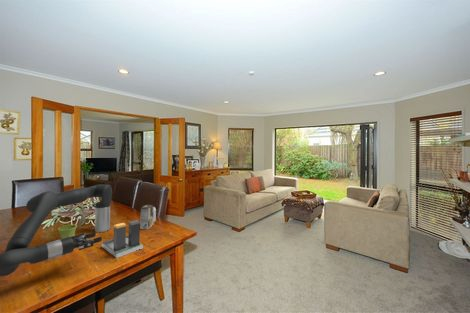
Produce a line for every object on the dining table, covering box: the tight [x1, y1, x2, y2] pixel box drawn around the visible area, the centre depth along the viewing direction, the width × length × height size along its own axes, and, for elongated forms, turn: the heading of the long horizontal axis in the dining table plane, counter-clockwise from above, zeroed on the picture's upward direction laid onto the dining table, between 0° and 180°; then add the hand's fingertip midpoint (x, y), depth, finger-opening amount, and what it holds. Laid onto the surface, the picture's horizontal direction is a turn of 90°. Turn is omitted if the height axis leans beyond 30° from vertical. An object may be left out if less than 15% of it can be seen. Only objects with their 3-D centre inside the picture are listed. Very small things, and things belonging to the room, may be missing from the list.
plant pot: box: [57, 224, 78, 239], centre depth 131 cm, size 9×9×9 cm
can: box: [153, 206, 157, 223], centre depth 169 cm, size 8×8×12 cm
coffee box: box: [139, 204, 154, 230], centre depth 157 cm, size 9×6×16 cm
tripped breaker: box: [113, 222, 127, 251], centre depth 117 cm, size 4×5×14 cm
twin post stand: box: [101, 219, 144, 259], centre depth 124 cm, size 20×15×16 cm
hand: (98, 236), depth 109 cm, fingers open, 8 cm apart
